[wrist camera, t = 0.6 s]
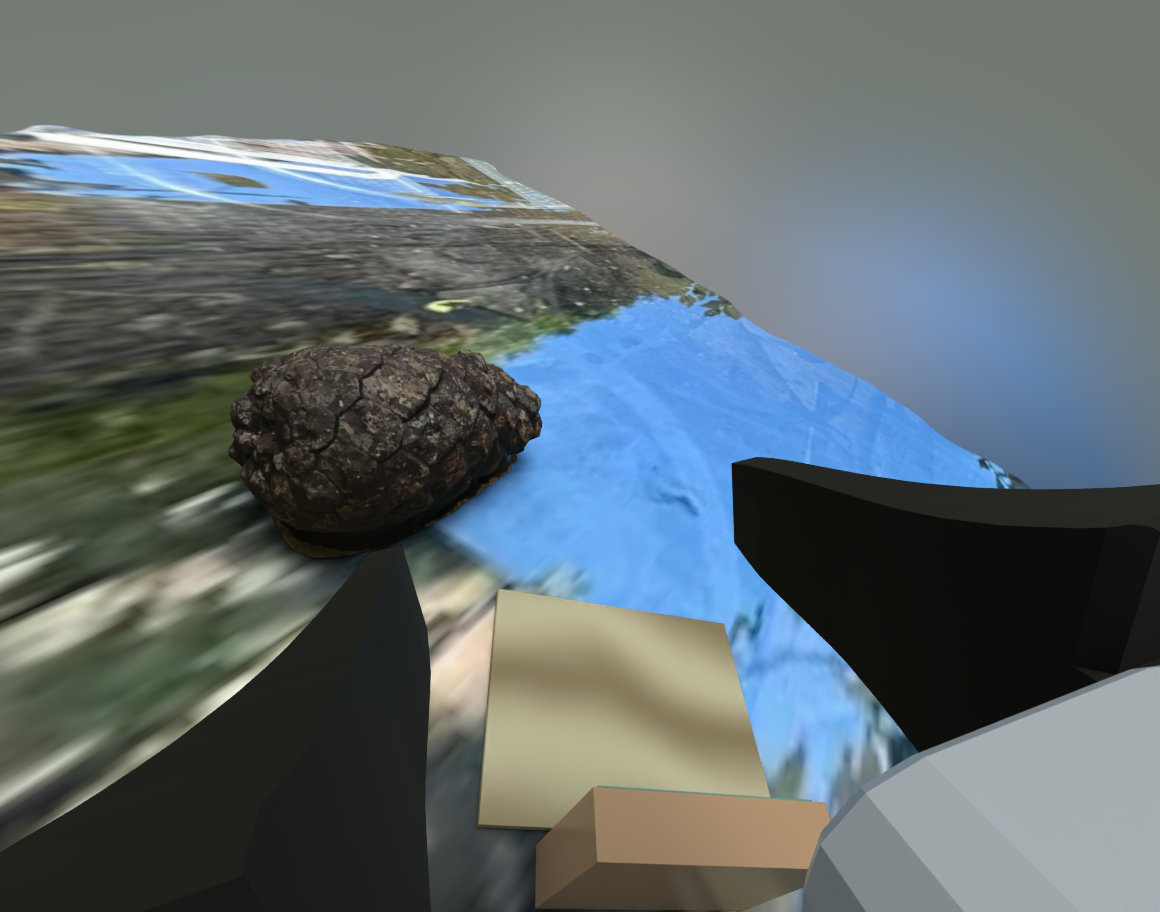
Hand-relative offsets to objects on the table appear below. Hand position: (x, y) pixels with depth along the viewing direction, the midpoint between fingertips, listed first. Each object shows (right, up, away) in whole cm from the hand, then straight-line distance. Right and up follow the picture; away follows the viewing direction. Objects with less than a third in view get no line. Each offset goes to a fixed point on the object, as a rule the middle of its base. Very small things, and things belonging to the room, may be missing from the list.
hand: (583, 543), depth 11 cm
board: (+2, -11, +16) cm, 19 cm away
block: (+2, -16, +11) cm, 19 cm away
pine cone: (-11, 0, +23) cm, 25 cm away
